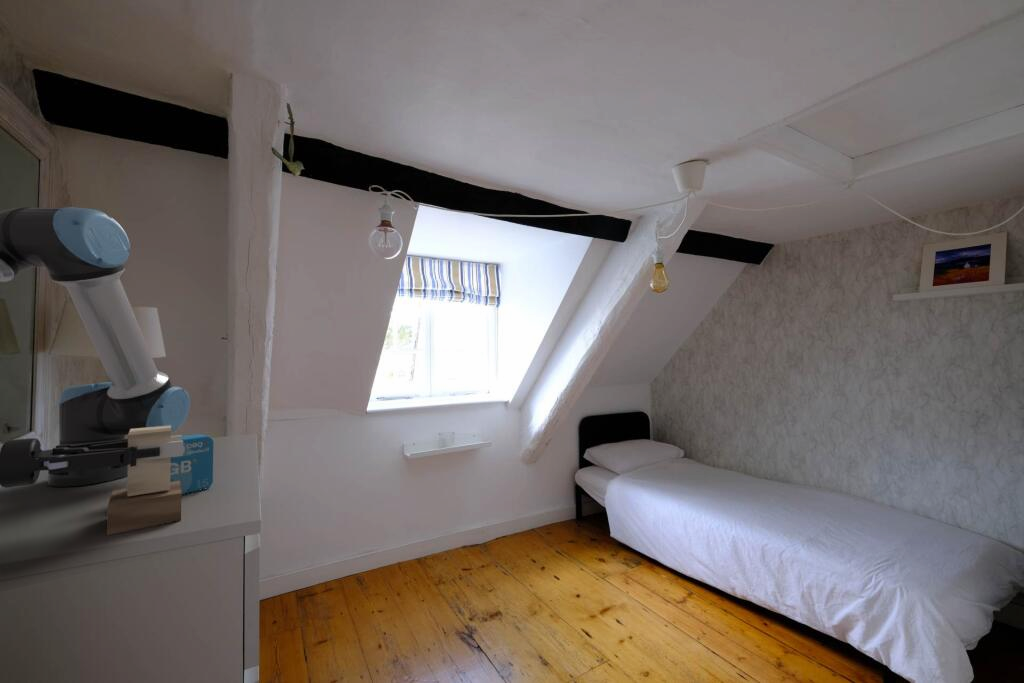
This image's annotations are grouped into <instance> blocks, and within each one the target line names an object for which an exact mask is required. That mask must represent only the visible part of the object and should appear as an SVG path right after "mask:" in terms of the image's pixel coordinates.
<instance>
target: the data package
mask: <svg viewBox="0 0 1024 683" xmlns="http://www.w3.org/2000/svg"><path fill="white" fill-rule="evenodd" d="M182 441H183V456H176V457H171V476H170V482H173V481H180V486H181V493H182V494H183V493H187V494H189V493H188V492H192V493H194V492H193V491H196V492H198V491H197V490H200V489H205V488H207V489H209V488H210V487H212V485H213V483H214V449H215V448H214V439H213V438H212V437H211V436H208V435H205V434H201V433H198V434H189V435H182ZM205 490H206V489H205ZM183 495H184V494H183Z"/></svg>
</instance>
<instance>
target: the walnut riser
mask: <svg viewBox="0 0 1024 683" xmlns="http://www.w3.org/2000/svg"><path fill="white" fill-rule="evenodd" d="M179 520H181V521H182V493H181V486H180V481H173V482H170V490H165V491H159V492H153V493H147V494H140V495H134V496H128V497H127V488H120V489H113V490H112V492H111V495H110V498H109V501H108V503H107V520H106V521H107V524H106V525H107V527H106V530H107V531H106V535H107V536H108V535H113V534H120V533H123V532H129V531H134V530H139V529H145V528H150V526H151V527H155V526H160V525H159V524H161V525H165V524H164V523H166V524H169V523H168V522H171V523H174V522H173V521H176V522H180V521H179Z"/></svg>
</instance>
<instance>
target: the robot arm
mask: <svg viewBox="0 0 1024 683" xmlns="http://www.w3.org/2000/svg"><path fill="white" fill-rule="evenodd" d="M120 224H121V223H118V221H117V220H115V218H113V217H112V216H110V215H108V214H106V213H105V212H103V211H101V210H97V209H91V208H82V207H76V206H71V207H70V206H66V207H65V206H63V207H60V206H59V207H57V206H56V207H13V208H8V209H4V210H1V211H0V282H1V283H6V282H9V281H12V280H13V279H14V278H15V277H16V275H18V274H19V273H20V272H22V271H25V270H28V269H30V268H31V269H32V268H36V267H42V268H43V267H45V268H46V270H47V273H48V274H49V277H50V279H51V281H52V282H54V283H56V284H59V285H61V286H63V287H65V288H66V289H67V291H68V293H69V296H70V297H71V299H72V300H71V301H72V302H73V305H74V306H75V308H76V311H77V313H78V315H79V316H80V319H81V320H82V321H81V322H82V324H83V325H84V327H85V330H86V332H87V334H88V336H89V338H90V340H91V342H92V344H93V347H94V348H95V351H96V353H97V355H98V357H99V359H100V362H101V364H102V366H103V368H104V369H105V372H106V375H107V376H108V378H109V381H107V382H98V383H97V382H96V383H87V384H81V385H80V384H79V385H72V386H68V387H66V388H64V389H63V390H61V394H60V402H59V404H58V406H59V408H58V409H59V410H58V411H59V412H58V413H59V414H58V415H59V422H58V423H59V444H58V445H55V447H54V448H51V449H46V450H43V449H42V445H41V442H40V440H39V439H38V438H35V437H33V438H30V437H29V438H20V439H9V440H7V441H5V442H3V443H2V442H1V441H0V486H1V487H2V488H4V489H6V488H15V487H21V486H28V485H29V486H30V485H31V486H32V485H34V484H35V483H36V482H37V481H38V479H39V476H40V473H41V472H43V471H47V472H48V474H47V486H50V487H61V488H64V487H77V486H87V485H94V484H99V483H105V481H106V482H110V481H113V480H118V479H121V478H125V477H128V465H129V464H130V467H132V466H136V459H137V461H143V460H151V459H160V458H168V457H176V456H183V441H182V436H183V435H182V434H179V435H171V442H165V443H155V444H145V445H138V446H137V447H128V438H126V436H128V434H129V431H130V429H134V428H146V427H157V426H169V425H171V434H172V433H174V432H175V431H177V430H178V429H179V428H180V427H182V426H183V424H184V422H186V419H187V417H188V415H189V412H190V409H191V406H190V405H191V399H190V394H189V392H187V390H186V389H184V388H182V387H180V386H173V385H172V383H171V382H172V381H171V380H170V377H169V375H168V374H167V373H165V372H163V371H159V370H158V368H157V367H156V364H155V361H154V358H153V356H152V354H151V352H150V350H149V347H148V344H147V342H146V339H145V337H144V334H143V332H142V330H141V327H140V325H139V322H138V319H137V318H136V315H135V312H134V311H133V308H132V305H131V303H130V301H129V298H128V296H127V293H126V291H125V288H124V286H123V284H122V281H121V275H122V274H123V273H124V272H125V270H126V268H125V265H124V264H125V263H126V261H128V258H129V257H130V253H129V251H131V243H130V240H129V237H128V235H127V233H126V231H125V230H124V228H123V227H122V225H120Z"/></svg>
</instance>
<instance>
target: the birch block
mask: <svg viewBox="0 0 1024 683" xmlns="http://www.w3.org/2000/svg"><path fill="white" fill-rule="evenodd" d="M171 436H172V433H171V425H169V426H157V427H146V428H134V429H130V431H129V434H128V435H127V439H128V447H137V446H138V445H145V444H155V443H165V442H171ZM170 476H171V457H168V458H160V459H151V460H143V461H137V459H136V466H132V467H130V464H129V465H128V476H127V497H128V496H134V495H140V494H147V493H153V492H159V491H165V490H170Z"/></svg>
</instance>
